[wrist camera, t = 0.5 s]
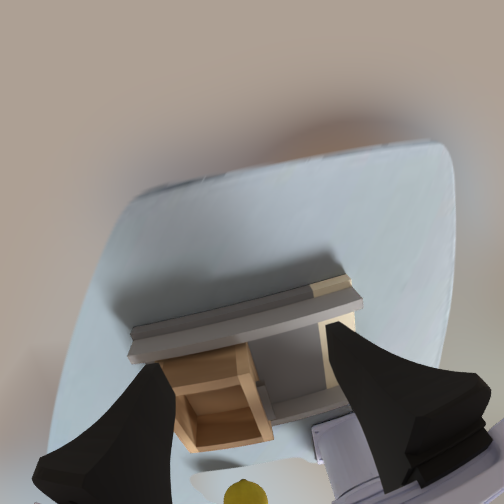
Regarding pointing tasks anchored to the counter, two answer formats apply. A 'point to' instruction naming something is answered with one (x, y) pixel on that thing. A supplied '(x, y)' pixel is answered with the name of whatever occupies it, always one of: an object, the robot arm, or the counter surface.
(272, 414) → the crate
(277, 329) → the bay
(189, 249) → the counter surface
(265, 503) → the lemon
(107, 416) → the robot arm
